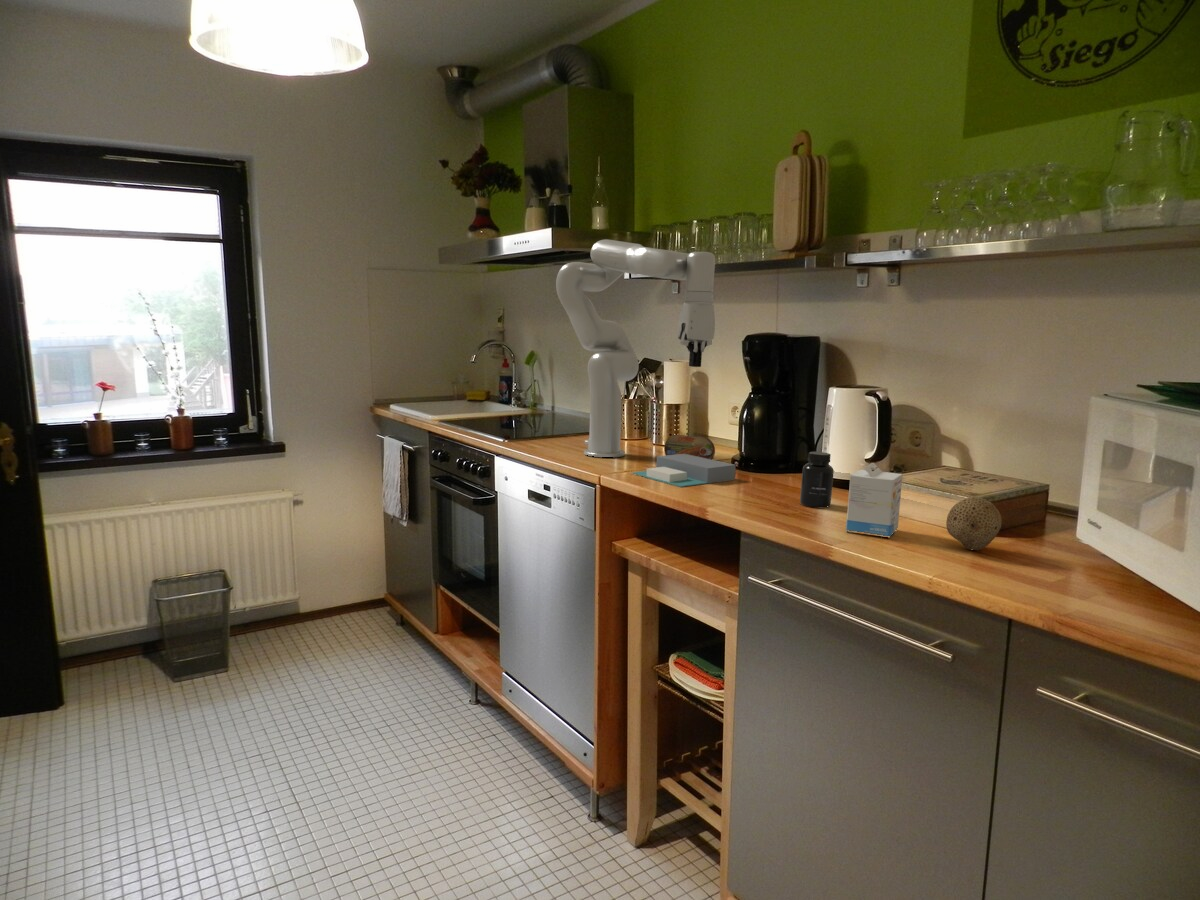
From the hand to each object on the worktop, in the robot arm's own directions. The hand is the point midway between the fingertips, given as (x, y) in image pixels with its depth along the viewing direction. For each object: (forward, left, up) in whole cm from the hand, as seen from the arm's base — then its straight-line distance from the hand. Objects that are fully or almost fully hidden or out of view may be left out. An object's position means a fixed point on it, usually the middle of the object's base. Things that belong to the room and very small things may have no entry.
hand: (694, 366), depth 213 cm
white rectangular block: (+8, -16, -26) cm, 32 cm away
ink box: (+69, -15, -29) cm, 76 cm away
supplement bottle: (+48, -6, -29) cm, 56 cm away
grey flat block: (+8, -6, -29) cm, 30 cm away
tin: (-6, +5, -29) cm, 30 cm away
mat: (+8, -15, -29) cm, 33 cm away
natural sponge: (+87, -11, -29) cm, 92 cm away
